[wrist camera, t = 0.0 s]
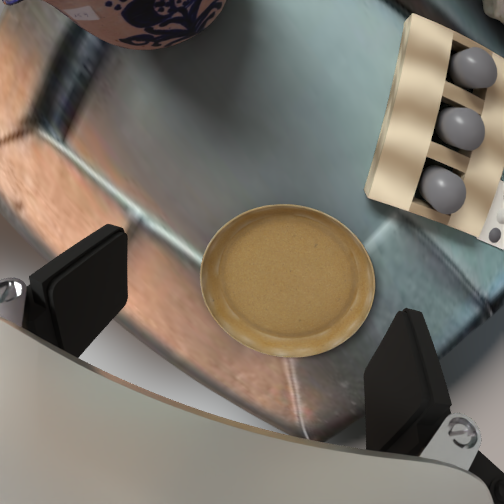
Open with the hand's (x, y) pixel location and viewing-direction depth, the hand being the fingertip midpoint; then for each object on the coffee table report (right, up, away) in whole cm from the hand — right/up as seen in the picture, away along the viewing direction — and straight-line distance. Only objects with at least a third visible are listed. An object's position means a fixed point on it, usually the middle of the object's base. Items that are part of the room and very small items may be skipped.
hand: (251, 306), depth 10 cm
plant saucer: (+5, -2, +36) cm, 36 cm away
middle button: (+23, +16, +20) cm, 35 cm away
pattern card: (+35, +7, +24) cm, 43 cm away
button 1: (+22, +10, +23) cm, 33 cm away
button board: (+24, +17, +21) cm, 36 cm away
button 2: (+25, +23, +16) cm, 37 cm away
